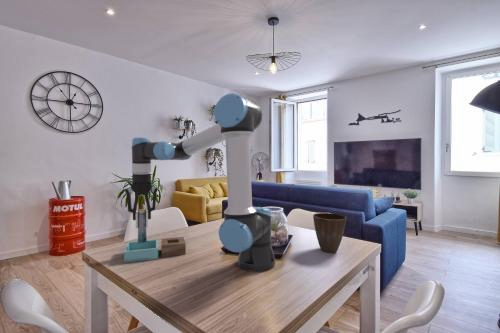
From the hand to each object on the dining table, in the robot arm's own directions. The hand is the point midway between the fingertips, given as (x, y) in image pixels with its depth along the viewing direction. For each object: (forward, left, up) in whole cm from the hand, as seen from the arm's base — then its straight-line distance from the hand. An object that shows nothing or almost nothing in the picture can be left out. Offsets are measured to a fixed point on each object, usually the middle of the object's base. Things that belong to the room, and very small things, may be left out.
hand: (142, 226), depth 113 cm
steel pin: (0, 0, -7) cm, 7 cm away
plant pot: (-21, -82, -13) cm, 86 cm away
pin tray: (0, 0, -13) cm, 13 cm away
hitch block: (0, -13, -13) cm, 18 cm away
